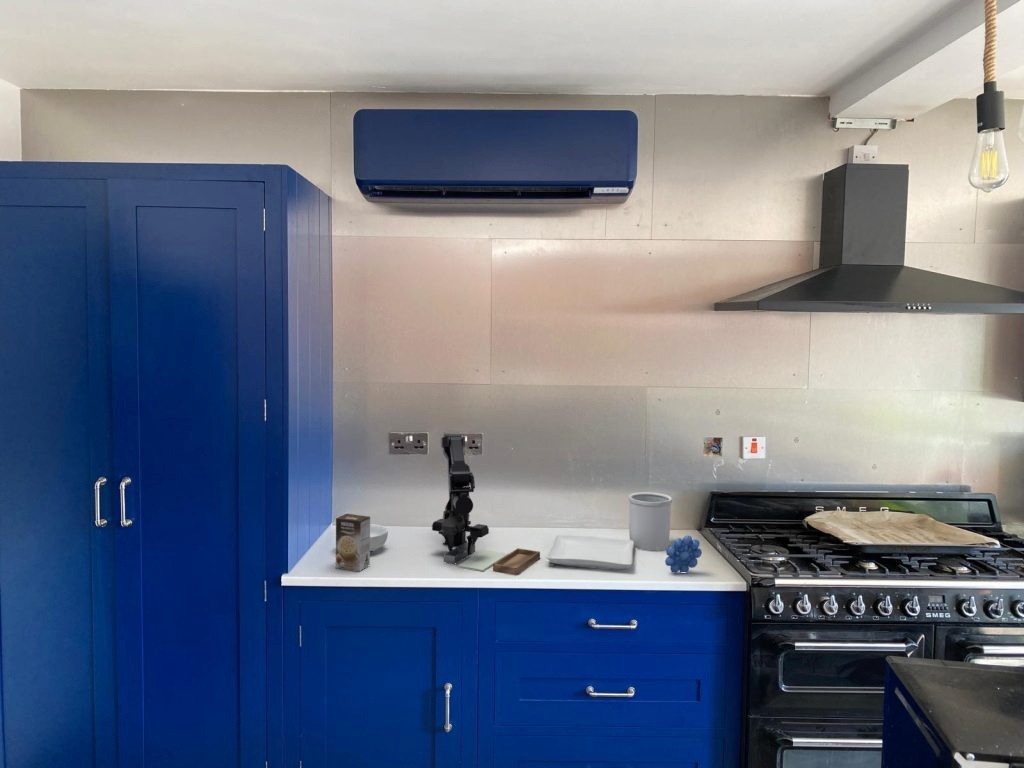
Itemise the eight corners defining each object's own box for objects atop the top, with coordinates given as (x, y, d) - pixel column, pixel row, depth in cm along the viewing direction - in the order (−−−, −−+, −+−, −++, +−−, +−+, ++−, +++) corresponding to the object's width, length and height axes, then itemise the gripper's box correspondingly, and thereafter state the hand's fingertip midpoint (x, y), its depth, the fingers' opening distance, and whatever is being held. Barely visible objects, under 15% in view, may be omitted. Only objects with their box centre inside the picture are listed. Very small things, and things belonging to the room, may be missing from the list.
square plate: (632, 575, 205) (632, 563, 205) (544, 568, 211) (544, 556, 211) (633, 549, 232) (634, 538, 232) (556, 543, 237) (556, 532, 237)
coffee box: (334, 568, 208) (334, 518, 207) (346, 562, 214) (345, 513, 213) (360, 572, 205) (359, 520, 204) (371, 565, 211) (371, 515, 210)
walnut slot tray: (492, 571, 207) (493, 564, 207) (517, 554, 223) (517, 548, 223) (516, 575, 203) (516, 568, 203) (539, 558, 220) (540, 551, 220)
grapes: (695, 568, 212) (696, 531, 211) (704, 575, 205) (705, 537, 204) (660, 569, 210) (661, 531, 210) (667, 576, 204) (668, 538, 203)
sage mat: (458, 567, 210) (458, 565, 210) (484, 551, 226) (484, 549, 226) (483, 571, 206) (483, 569, 206) (508, 555, 222) (508, 553, 222)
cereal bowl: (341, 561, 215) (341, 539, 215) (333, 546, 230) (333, 526, 230) (393, 554, 222) (393, 533, 221) (381, 541, 237) (381, 521, 237)
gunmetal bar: (443, 563, 214) (443, 554, 214) (464, 551, 227) (464, 542, 227) (454, 565, 213) (454, 556, 213) (475, 553, 225) (475, 544, 225)
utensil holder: (668, 553, 226) (669, 503, 225) (624, 549, 231) (625, 499, 230) (672, 541, 240) (673, 494, 239) (631, 537, 245) (632, 490, 244)
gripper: (422, 509, 216) (422, 556, 217) (473, 516, 208) (472, 564, 209) (441, 501, 226) (440, 546, 227) (489, 508, 218) (489, 554, 219)
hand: (460, 553), depth 220 cm, fingers open, 7 cm apart
